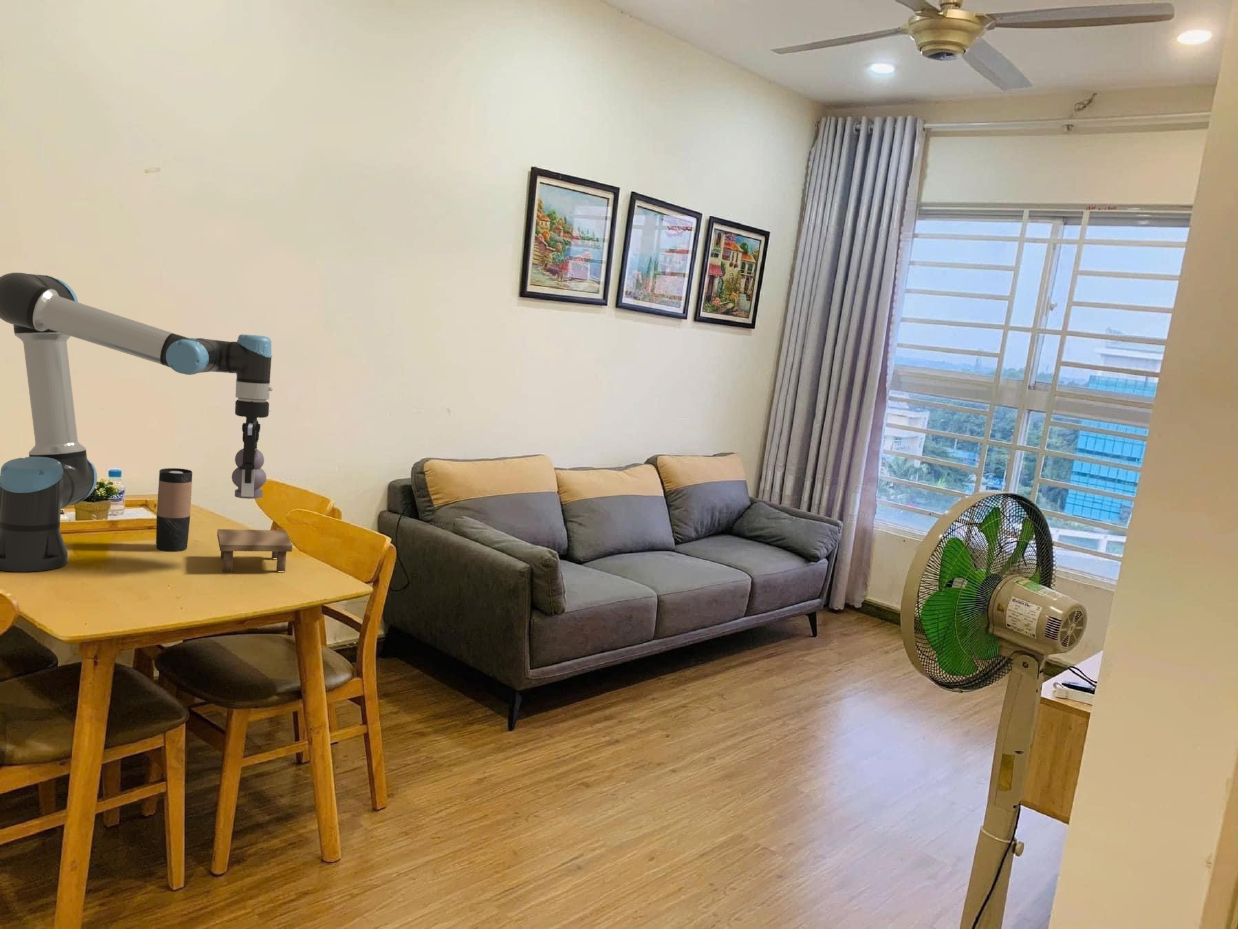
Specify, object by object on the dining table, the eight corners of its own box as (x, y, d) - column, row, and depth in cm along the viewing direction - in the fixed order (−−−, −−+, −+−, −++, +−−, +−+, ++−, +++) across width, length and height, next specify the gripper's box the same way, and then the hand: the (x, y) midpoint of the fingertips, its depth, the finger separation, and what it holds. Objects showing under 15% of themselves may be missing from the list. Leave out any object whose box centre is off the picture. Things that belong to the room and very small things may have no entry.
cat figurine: (228, 492, 223) (230, 444, 221) (262, 492, 227) (264, 445, 225) (233, 499, 215) (235, 449, 214) (268, 499, 220) (270, 450, 218)
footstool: (218, 573, 214) (220, 544, 213) (215, 556, 228) (217, 529, 228) (290, 573, 221) (292, 545, 221) (283, 556, 236) (285, 530, 235)
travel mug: (194, 547, 235) (199, 470, 232) (177, 553, 227) (181, 474, 224) (166, 543, 235) (170, 467, 233) (148, 549, 228) (152, 470, 225)
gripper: (267, 405, 209) (263, 501, 212) (270, 397, 229) (266, 485, 232) (232, 402, 207) (228, 500, 210) (238, 395, 227) (234, 484, 230)
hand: (248, 492), depth 221 cm, fingers closed on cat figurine, 8 cm apart
